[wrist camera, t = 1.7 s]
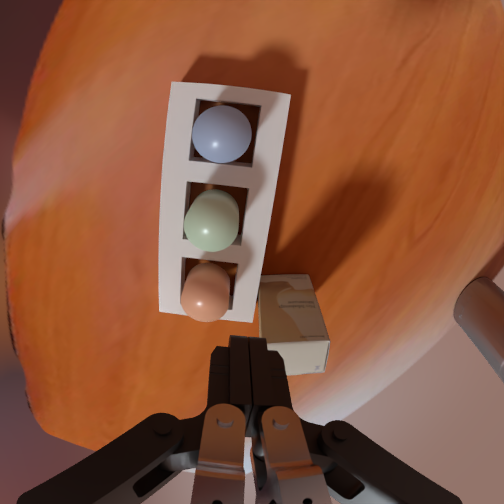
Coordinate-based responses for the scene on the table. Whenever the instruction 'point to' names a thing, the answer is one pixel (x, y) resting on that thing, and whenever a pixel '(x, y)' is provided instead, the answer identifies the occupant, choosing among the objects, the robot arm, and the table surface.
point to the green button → (212, 220)
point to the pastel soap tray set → (230, 174)
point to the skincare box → (293, 322)
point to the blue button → (221, 134)
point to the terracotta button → (206, 292)
